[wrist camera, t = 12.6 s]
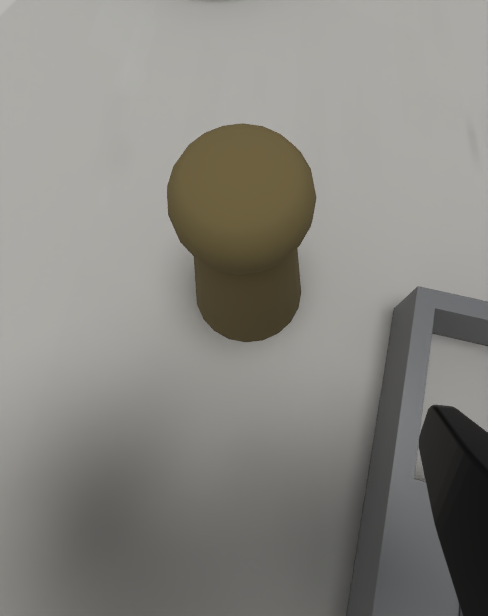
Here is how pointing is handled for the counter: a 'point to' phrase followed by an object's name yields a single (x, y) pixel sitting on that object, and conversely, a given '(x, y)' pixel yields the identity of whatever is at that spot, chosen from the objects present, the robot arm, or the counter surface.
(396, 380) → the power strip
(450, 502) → the robot arm
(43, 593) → the counter surface
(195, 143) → the cork
